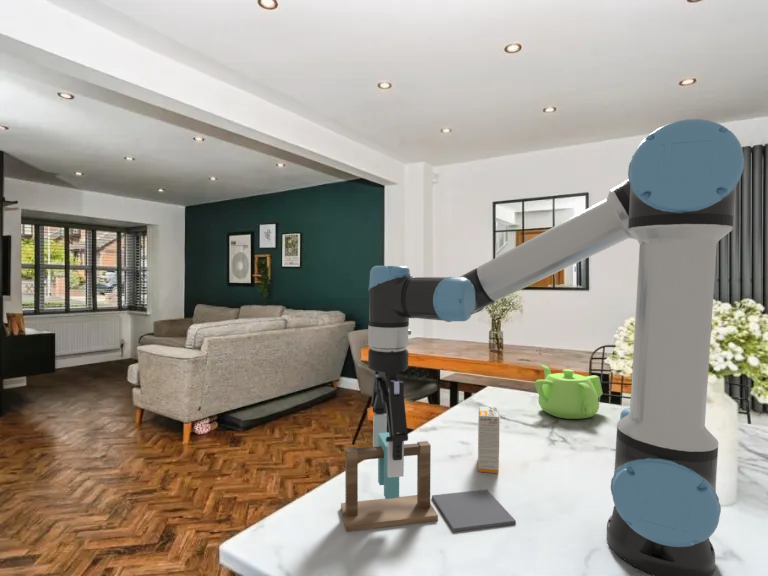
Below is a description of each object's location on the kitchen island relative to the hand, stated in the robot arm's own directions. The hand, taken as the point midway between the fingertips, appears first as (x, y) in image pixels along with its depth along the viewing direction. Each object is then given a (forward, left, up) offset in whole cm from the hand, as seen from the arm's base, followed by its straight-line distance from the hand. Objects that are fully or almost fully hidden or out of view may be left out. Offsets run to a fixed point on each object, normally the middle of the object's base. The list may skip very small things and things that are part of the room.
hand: (386, 460), depth 84 cm
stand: (0, 0, -10) cm, 10 cm away
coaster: (-2, -16, -10) cm, 19 cm away
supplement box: (+16, -28, -11) cm, 34 cm away
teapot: (+49, -71, -11) cm, 87 cm away
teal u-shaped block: (0, 0, -6) cm, 6 cm away
